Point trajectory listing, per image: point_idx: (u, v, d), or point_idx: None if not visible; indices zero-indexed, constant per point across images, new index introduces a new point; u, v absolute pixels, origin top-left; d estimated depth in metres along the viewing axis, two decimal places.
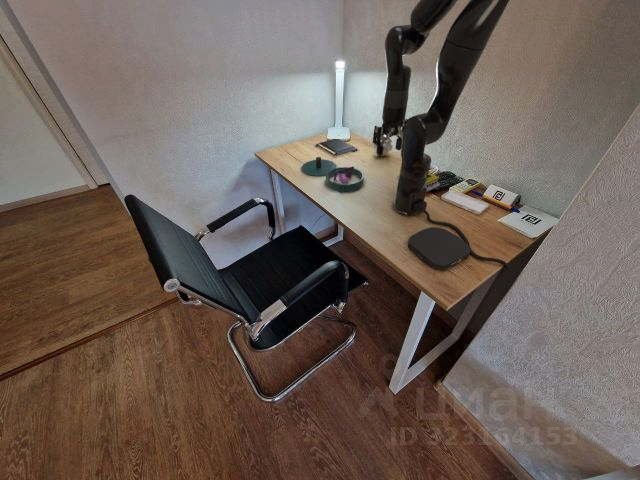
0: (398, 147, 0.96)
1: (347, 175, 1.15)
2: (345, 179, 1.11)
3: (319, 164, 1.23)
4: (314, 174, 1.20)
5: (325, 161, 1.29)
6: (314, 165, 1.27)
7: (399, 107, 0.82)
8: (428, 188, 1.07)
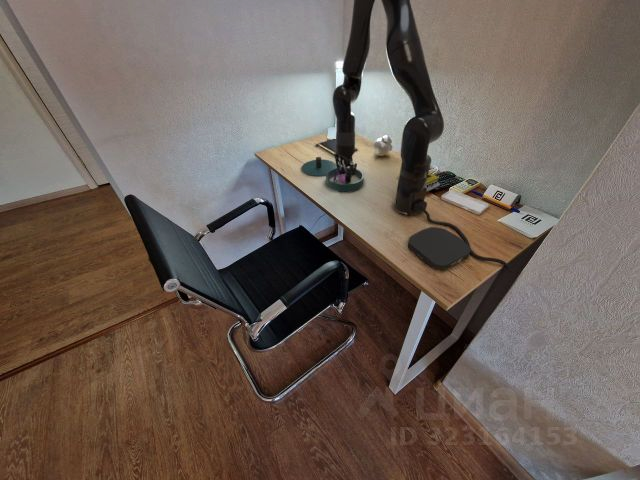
0: None
1: None
2: None
3: (319, 164, 1.23)
4: (314, 174, 1.20)
5: (325, 161, 1.29)
6: (314, 165, 1.27)
7: (336, 142, 1.02)
8: (428, 188, 1.07)
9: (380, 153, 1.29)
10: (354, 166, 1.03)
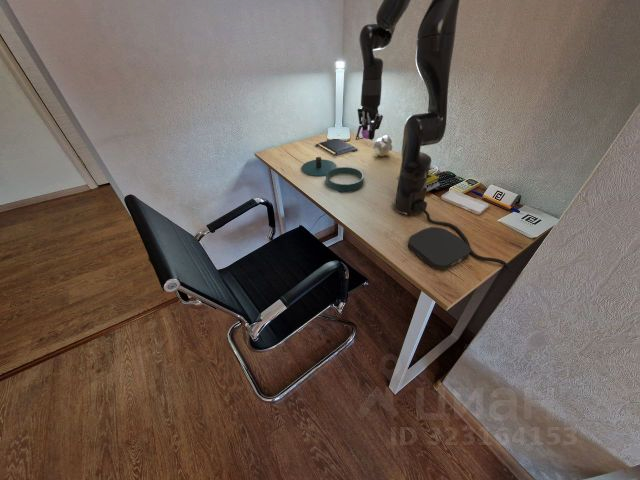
0: None
1: None
2: None
3: (319, 164, 1.23)
4: (314, 174, 1.20)
5: (325, 161, 1.29)
6: (314, 165, 1.27)
7: (361, 93, 0.99)
8: (428, 188, 1.07)
9: (380, 153, 1.29)
10: (380, 118, 1.00)
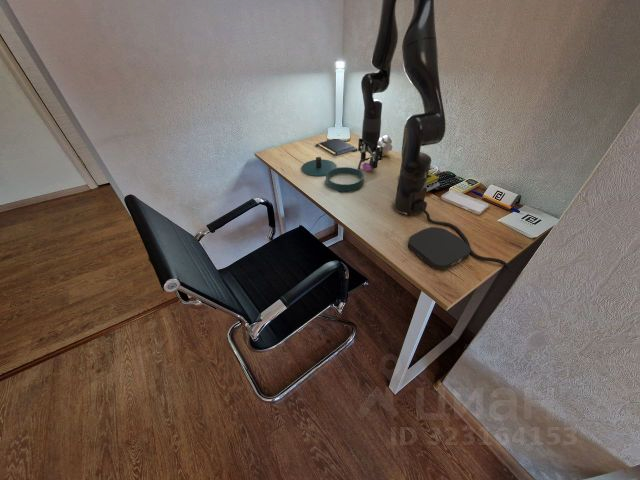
0: None
1: (370, 164, 1.22)
2: (369, 167, 1.19)
3: (319, 164, 1.23)
4: (314, 174, 1.20)
5: (325, 161, 1.29)
6: (314, 165, 1.27)
7: (362, 129, 1.09)
8: (428, 188, 1.07)
9: None
10: (380, 148, 1.08)
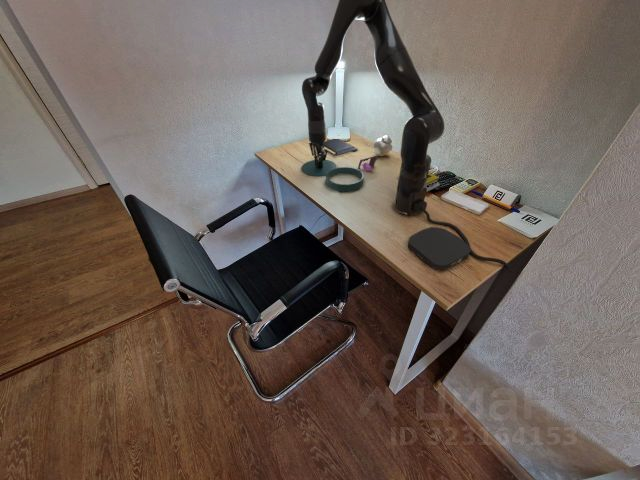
0: None
1: (370, 164, 1.22)
2: (369, 167, 1.19)
3: None
4: (314, 174, 1.20)
5: (325, 161, 1.29)
6: (314, 165, 1.27)
7: (308, 130, 1.13)
8: (428, 188, 1.07)
9: (380, 153, 1.29)
10: (325, 153, 1.15)
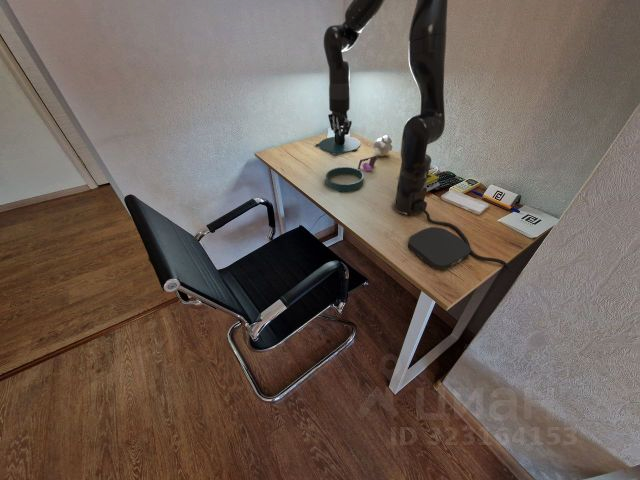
0: None
1: (370, 164, 1.22)
2: (369, 167, 1.19)
3: None
4: (335, 151, 1.00)
5: (345, 138, 1.10)
6: (333, 142, 1.07)
7: (329, 97, 0.94)
8: (428, 188, 1.06)
9: (380, 153, 1.29)
10: (348, 124, 0.96)
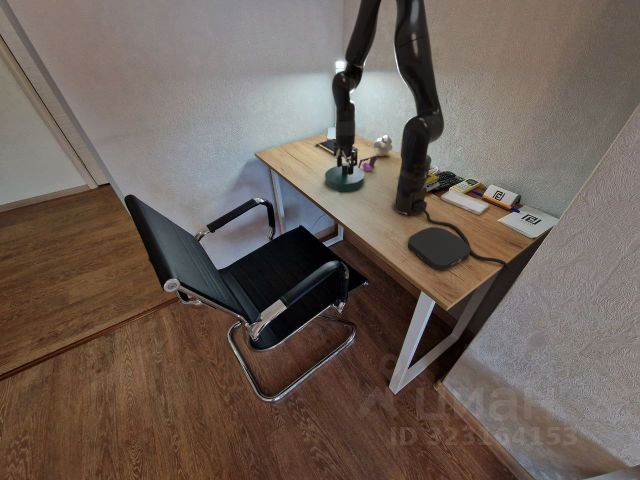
0: None
1: (370, 164, 1.22)
2: (369, 167, 1.19)
3: (345, 171, 1.10)
4: (340, 182, 1.07)
5: None
6: (339, 172, 1.14)
7: None
8: (428, 188, 1.06)
9: (380, 153, 1.29)
10: (355, 153, 1.00)
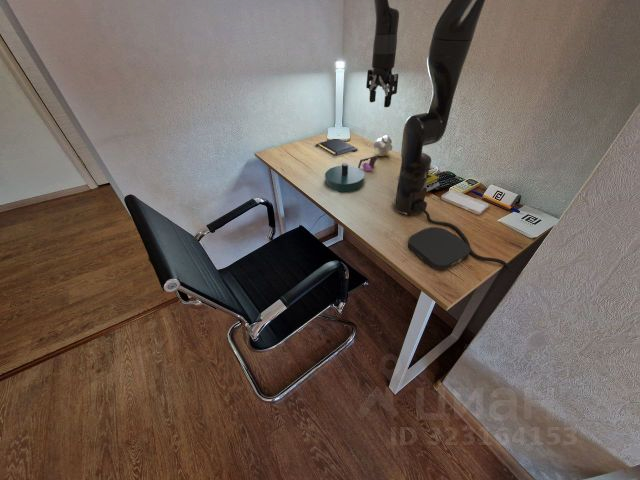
0: None
1: (370, 164, 1.22)
2: (369, 167, 1.19)
3: (345, 171, 1.10)
4: (340, 182, 1.07)
5: (350, 167, 1.16)
6: (339, 172, 1.14)
7: (373, 52, 0.86)
8: (428, 188, 1.06)
9: (380, 153, 1.29)
10: (395, 76, 0.86)
